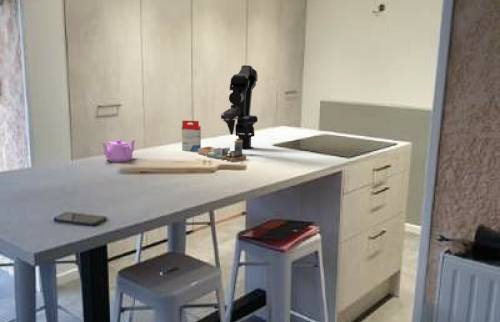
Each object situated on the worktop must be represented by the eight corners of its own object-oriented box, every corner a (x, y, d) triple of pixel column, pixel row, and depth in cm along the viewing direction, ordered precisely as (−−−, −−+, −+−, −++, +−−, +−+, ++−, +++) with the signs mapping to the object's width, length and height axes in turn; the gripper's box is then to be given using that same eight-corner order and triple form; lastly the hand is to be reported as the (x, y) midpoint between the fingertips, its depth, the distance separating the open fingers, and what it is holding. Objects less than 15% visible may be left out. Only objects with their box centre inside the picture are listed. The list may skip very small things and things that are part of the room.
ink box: (200, 149, 261) (201, 119, 258) (199, 151, 256) (199, 121, 253) (183, 148, 262) (183, 119, 259) (181, 150, 257) (181, 120, 254)
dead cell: (238, 153, 254) (238, 137, 253) (243, 154, 252) (244, 138, 250) (232, 154, 252) (233, 138, 250) (238, 155, 249) (238, 139, 248)
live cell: (236, 157, 242) (236, 149, 241) (242, 158, 240) (242, 150, 239) (225, 159, 237) (225, 151, 236) (231, 160, 234) (231, 152, 234)
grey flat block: (222, 154, 250) (222, 146, 250) (236, 157, 244) (236, 149, 244) (206, 156, 243) (207, 149, 242) (220, 159, 237) (220, 151, 236)
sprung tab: (228, 153, 244) (228, 147, 244) (229, 154, 243) (230, 147, 243) (220, 155, 241) (220, 148, 240) (222, 155, 240) (222, 149, 239)
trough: (236, 157, 244) (237, 153, 244) (246, 159, 240) (246, 155, 240) (222, 160, 237) (222, 156, 237) (231, 162, 233) (231, 158, 233)
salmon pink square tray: (209, 152, 254) (209, 146, 254) (219, 154, 250) (219, 148, 249) (198, 154, 249) (198, 148, 249) (208, 156, 245) (208, 150, 244)
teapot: (100, 162, 226) (100, 141, 224) (110, 156, 240) (110, 136, 238) (128, 163, 226) (128, 142, 224) (136, 157, 239) (136, 137, 238)
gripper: (212, 101, 247) (212, 135, 250) (242, 105, 235) (241, 140, 238) (229, 100, 255) (229, 132, 258) (258, 103, 243) (257, 137, 246)
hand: (238, 135), depth 250 cm, fingers open, 9 cm apart
